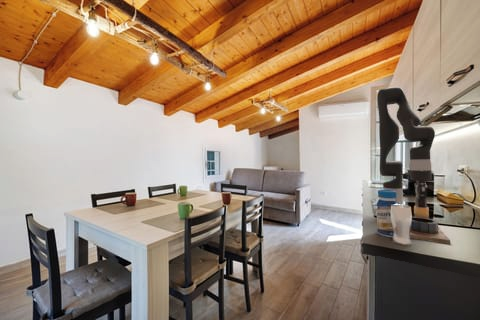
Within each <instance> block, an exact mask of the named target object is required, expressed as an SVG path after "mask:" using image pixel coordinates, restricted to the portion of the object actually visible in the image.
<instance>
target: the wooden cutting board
mask: <svg viewBox="0 0 480 320" xmlns="http://www.w3.org/2000/svg"><path fill="white" fill-rule="evenodd" d="M410 239H415V240H416V239H417V240H422V241H428V242H436V243H441V244H449V245H450V244H451V239H450V238H449V237H448V236H447V235H446V234H445V233H444V231H442V229H441V228H440V227H439V226H438V233H437V234H426V233H419V232H415V231H412V230H410Z"/></svg>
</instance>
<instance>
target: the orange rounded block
mask: <svg viewBox="0 0 480 320" xmlns="http://www.w3.org/2000/svg"><path fill="white" fill-rule="evenodd" d="M414 198H415V205H414V206H413V217H419V218H428V219H430V214H429V212H430V211H429V207H428V203H427V198H426V199H425V208H421V207H419V206H418V197H416V195H415V197H414Z"/></svg>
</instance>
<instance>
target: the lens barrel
mask: <svg viewBox="0 0 480 320" xmlns="http://www.w3.org/2000/svg"><path fill="white" fill-rule="evenodd" d="M438 227H439V222H438V221H437V220H435V219H432V218H419V217H415V216H412V223H411V228H410V230H412V231H415V232H419V233H426V234H437V233H438Z"/></svg>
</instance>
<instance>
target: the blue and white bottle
mask: <svg viewBox="0 0 480 320" xmlns="http://www.w3.org/2000/svg"><path fill="white" fill-rule="evenodd" d="M377 197H378V198H379V199H378V200H377V202H376V209H375V210H376V211H375V212H376V227H377V228H376V231H377V234H378V235H381V236H383V237H388V238H393V227H392V223H391V218H390V208H391V205H392V204H398V203H397V202H396V201H395V199H396V191H393V190H383V189H378V190H377Z"/></svg>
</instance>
